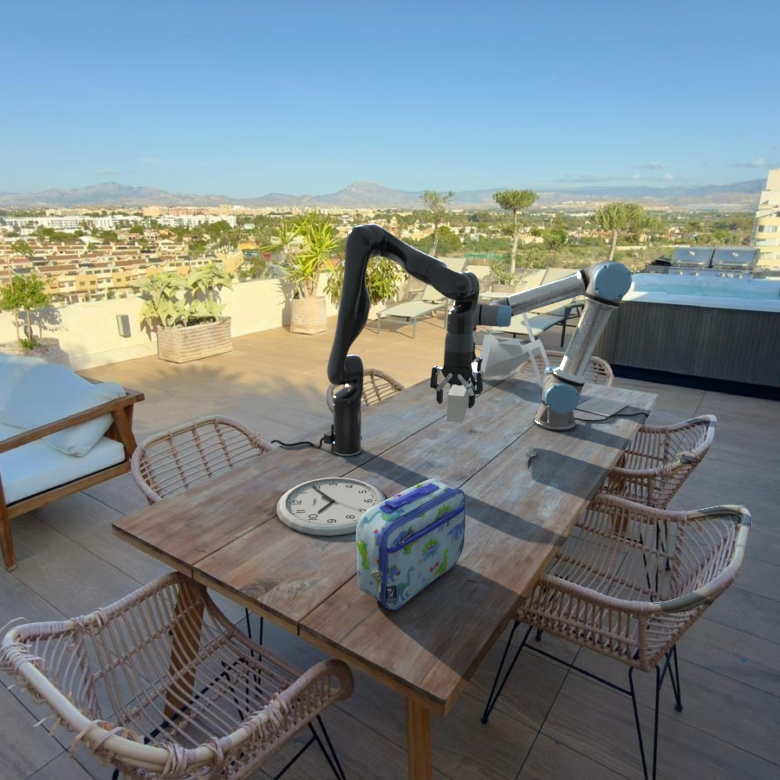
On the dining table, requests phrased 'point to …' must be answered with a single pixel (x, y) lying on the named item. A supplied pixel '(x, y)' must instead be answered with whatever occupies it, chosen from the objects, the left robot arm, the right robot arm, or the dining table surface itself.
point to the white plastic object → (510, 355)
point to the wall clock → (327, 505)
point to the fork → (531, 456)
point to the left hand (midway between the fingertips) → (455, 405)
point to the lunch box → (409, 541)
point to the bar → (457, 403)
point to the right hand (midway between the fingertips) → (461, 400)
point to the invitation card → (601, 406)
